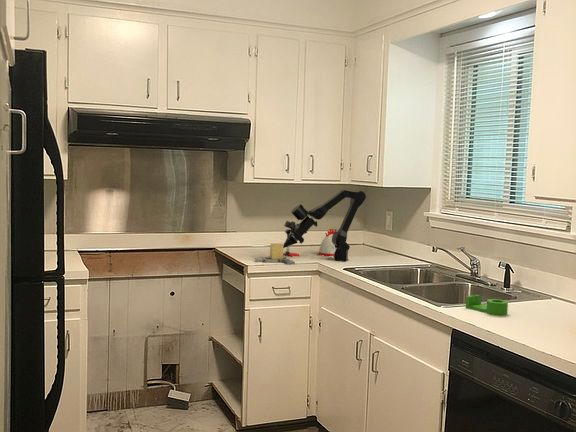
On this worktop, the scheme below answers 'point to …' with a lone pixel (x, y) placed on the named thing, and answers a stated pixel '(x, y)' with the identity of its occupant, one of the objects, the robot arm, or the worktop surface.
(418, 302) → the worktop surface
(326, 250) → the kitchen timer
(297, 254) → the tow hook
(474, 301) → the green ring bracket
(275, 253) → the yellow block
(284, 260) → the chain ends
